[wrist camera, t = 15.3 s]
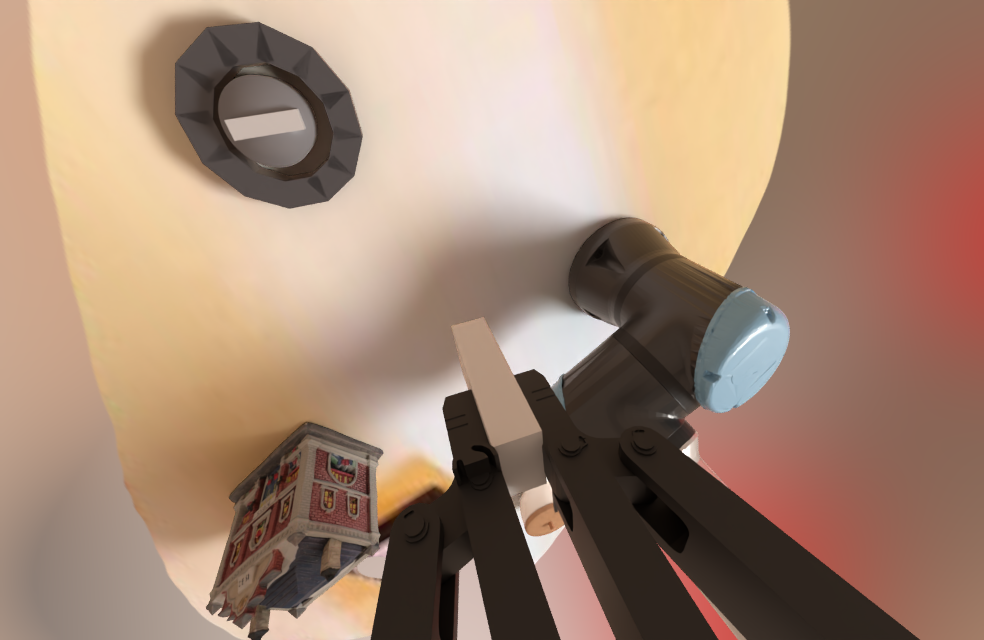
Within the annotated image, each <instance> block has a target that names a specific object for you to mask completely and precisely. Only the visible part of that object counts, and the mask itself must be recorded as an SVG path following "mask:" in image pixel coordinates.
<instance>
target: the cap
mask: <svg viewBox="0 0 984 640" xmlns="http://www.w3.org/2000/svg"><path fill="white" fill-rule="evenodd" d="M218 113H219V119H220V122H221V125H222V127H223V130H224V132H225V133H226V135H227V137H228V138H229V140H230V141H231V142H232V144H233V145H234V146H235V147H236V148H237V149H238V150H239V151H240V152H241V153H243V154H244V155H245V156H247V157H248V158H250V159H251V160H253V161H255V162H257V163H260V164H262V165H265V166H269V167H277V168H282V167H289V166H292V165H295V164H297V163H298V162H300V161H301V160H303V159H304V158H305V157H306V155H307V154H308V153H309V152H310V150H311V149H312V148H313V146H314V144H315V142H316V139H317V133H318V126H317V120H316V116H315V114H314V111H313V109H312V107H311V105H310V104H309V102H308V101H307V99H306V98H305V97H304V96H303V95H302V94H301V93H300V92H299V91H298V90H297V89H296V88H294V87H293V86H292V85H290V84H289V83H287V82H285V81H283V80H280V79H277V78H274V77H269V76H262V75H244V76H240V77H237V78H235V79H233V80H232V81H230V82H229V83H228V84H227V85H226V86H225V88H224V89H223V91H222V93H221V95H220V98H219V104H218Z"/></svg>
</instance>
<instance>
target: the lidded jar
mask: <svg viewBox="0 0 984 640" xmlns="http://www.w3.org/2000/svg"><path fill="white" fill-rule="evenodd" d="M520 512H521V517H522V520H523V523H524V525H525V530H526V532H527V534H529V535H531V536H542V535H546V534H549V533H551V532H553V531H555V530H557V529H559V528H560V527H562V526H563V525H564V522H563V520H562V517H561V515H560V513H559V511H558V512H556V513H555V511H554V507H553V497H552V488H551V486H550V483H549V482H547V484H544V485H541V486H539V487H536V488H533V489H530V490H528V491H525V492H523V494H522V497H521V500H520Z"/></svg>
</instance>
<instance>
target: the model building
mask: <svg viewBox="0 0 984 640" xmlns="http://www.w3.org/2000/svg"><path fill="white" fill-rule="evenodd" d="M382 454H383V451H382V450H380V449H378V448H375V447H373V446H370V445H368V444H365V443H363V442H360V441H358V440H355V439H352V438H350V437H347V436H345V435H343V434H340V433H338V432H336V431H333V430H330V429H328V428H325V427H322V426H319V425H316V424H313V423H307V422H306V423H305V424H304V425H302V426H301V427H299V428H298V429H297V430H296V431H295V432H294V433H292V434H291V435H290V436H289V437H288V438H287V439H286V440H285V441H284V442H283V443H282V444H281V445H280V446H279V447H278V448H277V449H275V450H274V451H273V452H272V454H271V455H270V456H269V457H268V458H267V459H266V460H265V461H264V462H263V463H262V464H261V465H260V466H259V467H257V468H256V469H255V470H254V471H253V472H252V473H251V474H250V475H249V476H248V477H247V478H246V479H245V480H244V481H243V482H242V483H241V484H240V485H239V486H238V487H237V488H236V489H235V490H234V491H233V492H232V493H231V495H230V496H229V499H230V500H231V501H232V502H235V506H234V510H235V512H236V513H235V517H234V520H233V523H232V527H231V531H230V534H229V537H228V540H227V543H226V547H225V550H224V554H223V557H222V560H221V564H220V567H219V571H218V574H217V577H216V581H215V584H214V587H213V590H212V591H211V593H210V598H211V599H210V601H209V604H208V605H207V606H206V609H207V610H209V612H210V613H211V615H213V614H214V613H215V612H216V611H218V610H219V609H220V608H222V611H221V612H220V613H219V614H218V616H220V617H228V616H229V618H228V619H227V621H230V620H234V621H233V623H234V624H235V625H237V626H238V627H240V628H241V629H243V628H244V627H245V626H246V624H247V623H248V622H249V621H250V620H251V623H250V631H249V635H248V638H251V639H252V640H261V638H262V636H263V635H264V634H265V633H266V632H268V631H269V628H268V624H269V616H270V610H283V611H288V612H289V613H290V614H291V615H293V616H294V617H295V618H298V617H299V616H300V615H301V614H302V613H303V612H304V611H305V610H306V608H307V606H308V605H310V604H311V603H312V602H313V601H314V600H315V599H317V598H318V597H319V596H320V595H322V594H323V593H324V592H325V591H327V590H328V589H329V588H330V587H332V586H333V585H334V584H335V583H337V582H338V581H339V580H340V579H341V578H343V577H344V576H345V575H346V574H347V573H349V572H350V571H351V570H352V569H353V568H355V567H356V566H357V565H358V564H359V563H360V562H362V561H363V560H364V559H365V558H366V557H368V556H369V555H371V556H373V555H374V554H375V553H376V552H377V551H378V550H379V549H380V548H379V536H380V534H379V531H378V521H377V488H376V467H377V466H378V459H379V458H380V457H381V456H382Z"/></svg>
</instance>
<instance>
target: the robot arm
mask: <svg viewBox="0 0 984 640" xmlns="http://www.w3.org/2000/svg"><path fill="white" fill-rule="evenodd" d="M569 289H570V294H571V296H572V298H573V300H574V302H575V303H576V304H577V305H578V306H579V307H580V308H581V309H582V310H583V311H584V312H585V313H586V314H588V315H589V316H591V317H593V318H596V319H599V320H602V321H604V322H606V323H609V324H611V325H614V326H617V327H619V329H618V330H617V331H616V332H614V333H613V334H612V335H611V336H609V337H608V338H607V339H606V340H605V341H604V342H603V343H601V344H600V345H599V346H598V347H597V348H596V349H595V350H593V351H592V352H591V353H590V354H589V355H588V356H586V357H585V358H584V359H583V360H582V361H580V362H579V363H578V364H577V365H576V366H574V367H573V368H572V369H571V370H570V371H569V372H567V373H566V374H562V375H561V376H560V378H559V380H558V381H557V382H556V383H555V384H554V385H553V386H552V387H550V385H549V383H548V382H547V380H546V378H545V377H544V376H543V375H542V374H540V373H539V372H537V371H536V370H534V369H533V370H530V371H526V372H523V373H520V374H517V375H513V373H512V371H511V369H510V367H509V365H508V363H507V361H506V359H505V357H504V355H503V354H502V352H501V350H500V348H499V346H498V344H497V342H496V340H495V338H494V336H493V334H492V332H491V330H490V328H489V326H488V324H487V322H486V320H485V318H484V317H482V318H478V319H474V320H471V321H467V322H464V323H460V324H456V325H453V326H451V328H452V332H453V336H454V340H455V344H456V348H457V352H458V356H459V360H460V364H461V368H462V372H463V375H464V378H465V381H466V384H467V387H468V390H467V391H464V392H461V393H458V394H454V395H451V396H448V397H446V398H445V401H444V405H443V414H444V418H445V422H446V427H447V431H448V436H449V441H450V446H451V450H452V455H453V461H452V470H453V473H454V476H455V477H454V480H453V482H452V485H451V486H450V487H449V489H448V490H447V491H446V492H445V493H444V494H443V495H442V496H441V497H439V498H438V499H437V500H435V501H434V502H432V503H431V504H430V505H428V504H423V503H418V504H415V505H411V506H409V507H408V508H406V509H405V510H403V511H402V512H401V513H400V514H399V516H398V517H397V518H396V520H395V521H394V524H393V527H392V530H391V534H390V539H389V544H388V550H387V555H386V560H385V566H384V571H383V576H382V582H381V587H380V592H379V598H378V603H377V608H376V614H375V619H374V624H373V630H372V635H371V640H457V624H458V593H459V570H460V569H461V568H462V567H463V566H465V565H466V564H467V563H468V562H469V561H470V560H472V559H473V558H474V561H475V566H476V570H477V575H478V579H479V584H480V588H481V593H482V597H483V602H484V607H485V611H486V615H487V620H488V625H489V629H490V634H491V638H492V640H561V639H560V637H559V634H558V631H557V628H556V625H555V622H554V619H553V616H552V614H551V611H550V608H549V605H548V602H547V599H546V596H545V593H544V591H543V588H542V585H541V582H540V579H539V576H538V573H537V571H536V568H535V565H534V562H533V559H532V556H531V553H530V550H529V548H528V545H527V542H526V539H525V536H524V533H523V530H522V527H521V525H520V522H519V519H518V516H517V513H516V510H515V507H514V505H513V502H512V499H511V496H514V495H517V494H519V493H522V492H525V491H528V490H530V489H533V488H536V487H539V486H541V485H544V484H547V481H546V477H547V479H548V481H549V483H550V486H551V488H552V497H553V507H554V511H555V513H556V512H558V511H559V513H560V515H561V517H562V520H563V522H564V524H565V526H566V529H567V531H568V533H569V535H570V537H571V540H572V542H573V544H574V546H575V549H576V551H577V553H578V555H579V557H580V560H581V562H582V564H583V567H584V569H585V571H586V573H587V576H588V578H589V580H590V582H591V585H592V587H593V589H594V591H595V593H596V596H597V598H598V600H599V602H600V604H601V607H602V609H603V611H604V614H605V616H606V618H607V620H608V622H609V625H610V627H611V629H612V631H613V634H614V636H615V638H616V640H718V638H717V637H716V635H715V634H714V632H713V630H712V629H711V627H710V626H709V624H708V623H707V621H706V619H705V618H704V616H703V615H702V613H701V612H700V610H699V608H698V607H697V605H696V604H695V602H694V601H693V599H692V598H691V596H690V594H689V593H688V592H687V590H686V588H685V587H684V585H683V583H682V582H681V580H680V579H679V577H678V576H677V574H676V572H675V571H674V569H673V568H672V566H671V565H670V563H669V561H668V560H667V559H666V557H665V555H664V554H663V552H662V551H661V549H660V547H661V548H662V549H663V550H664V551H665V552H666V553H667V554H668V555H669V556H670V557H671V559H672V560H673V561H674V562H675V563H676V564H677V565H678V566H679V567H680V568H681V570H682V571H683V572H684V573H685V574H686V575H687V576H688V577H689V578H690V579H691V580H692V581H693V582H694V584H695V585H696V586H697V587H698V589H699V590H700V591H701V593H702V594H703V595H704V596H705V597H706V599H707V600H708V602H709V603H710V604H711V605H712V607H713V608H714V609H715V610H716V611H717V613H718V614H719V616H720V617H721V618H722V619H723V621H724V622H725V623H726V625H727V626H728V627H729V629H730V630H731V631H732V632H733V634H734V635H735V636H736V637H737V639H738V640H920V639H918V638H917V637H916V636H915V635H913V634H912V633H911V632H909V631H908V630H907V629H906V628H904V627H903V626H902V625H901V624H899V623H898V622H897V621H896V620H894V619H893V618H892V617H891V616H889V615H888V614H887V613H886V612H884V611H883V610H882V609H880V608H879V607H878V606H877V605H875V604H874V603H873V602H872V601H870V600H869V599H868V598H867V597H865V596H864V595H863V594H862V593H860V592H859V591H858V590H856V589H855V588H854V587H853V586H851V585H850V584H849V583H847V582H846V581H845V580H844V579H842V578H841V577H840V576H839V575H838V574H836V573H835V572H834V571H832V570H831V569H830V568H829V567H827V566H826V565H825V564H823V563H822V562H821V561H820V560H819V559H817V558H816V557H815V556H814V555H812V554H811V553H810V552H808V551H807V550H806V549H804V548H803V547H802V546H801V545H800V544H798V543H797V542H796V541H795V540H793V539H792V538H791V537H790V536H788V535H787V534H786V533H784V532H783V531H782V530H781V529H779V528H778V527H777V526H776V525H774V524H773V523H772V522H771V521H769V520H768V519H767V518H766V517H764V516H763V515H762V514H760V513H759V512H758V511H757V510H755V509H754V508H753V507H752V506H750V505H749V504H748V503H747V502H745V501H744V500H743V499H742V498H740V497H739V496H738V495H736V494H735V493H734V492H733V491H731V490H730V489H729V488H728V487H727V486H726V485H725V484H724V483H723V481H722V480H721V479H720V478H719V477H718V476H717V475H716V474H715V473H714V472H713V471H712V469H710V467H709V466H708V465H707V464H706V463H705V462H704V461H703V460H702V459H701V458H700V456H699V452H698V433H697V432H696V431H695V430H694V429H693V428H692V427H691V426H690V425H689V423H688V422H687V421H686V420H685V417H686V416H688V415H689V414H690V413H691V412H693V411H694V410H695V409H697V408H698V407H699V406H702V407H703V408H704V409H707V410H710V411H712V412H715V413H723V412H727V411H730V410H731V409H732V408H737V407H739V406H740V405H742V404H744V403H745V402H746V401H747V400H749V399H750V398H751V397H753V396H754V395H755V394H756V393H757V392H758V391H759V390H760V389H761V388H762V387H763V386H764V384H765V383H766V382H767V381H768V380H769V378H770V377H771V376H772V374H773V373H774V372H775V370H776V368H777V367H778V365H779V363H780V362H781V360H782V357H783V356H784V354H785V351H786V348H787V345H788V341H789V335H790V330H789V329H790V328H789V323H788V320H787V318H786V316H785V314H784V313H783V312H782V311H781V310H780V309H779V308H777V307H776V306H775V305H773V304H771V303H770V302H768V301H766V300H764V299H763V298H761V297H759V296H757V294H756V293H755V292H754V291H753V290H751V289H749V288H747V287H742V286H740V285H738V284H736V283H734V282H732V281H730V280H728V279H726V278H724V277H722V276H721V275H719V274H717V273H715V272H713V271H711V270H709V269H707V268H705V267H703V266H701V265H699V264H697V263H695V262H693V261H691V260H689V259H687V258H685V257H683V256H681V255H680V254H679V253H678V252H677V250H676V249H675V248H674V247H673V246H672V245H671V244H670V243H669V241H668V239H667V237H666V236H665V235H664V233H663V232H662V231H661V230H660V229H658V228H657V227H656V226H654V225H652V224H650V223H648V222H645V221H643V220H641V219H636V218H625V219H620V220H616V221H614V222H611V223H609V224H607V225H605V226H604V227H602V228H601V229H599V230H598V231H596V232H595V233H594V234H593V235H592V236H591V237H590V238H589V239H588V240H587V241H586V242H585V243H584V244H583V246H582V247H581V249H580V250H579V252H578V253H577V255H576V257H575V259H574V261H573V264H572V267H571V270H570V275H569ZM658 545H659V546H660V547H659V546H658Z"/></svg>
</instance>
